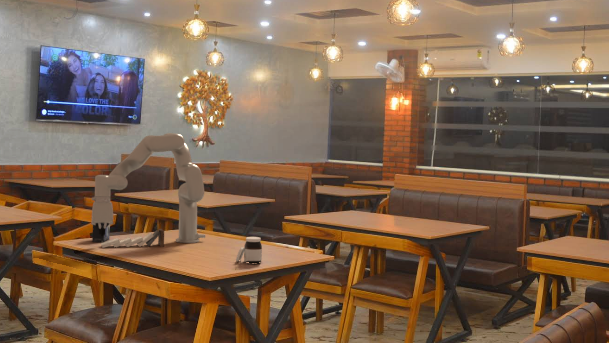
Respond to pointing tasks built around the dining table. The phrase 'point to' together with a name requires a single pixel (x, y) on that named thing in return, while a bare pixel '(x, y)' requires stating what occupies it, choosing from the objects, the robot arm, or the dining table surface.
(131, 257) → the dining table surface
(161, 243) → the block
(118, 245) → the domino
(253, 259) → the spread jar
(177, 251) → the dining table surface
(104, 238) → the small box
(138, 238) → the domino
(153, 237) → the end domino
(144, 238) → the domino
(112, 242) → the domino
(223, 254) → the dining table surface
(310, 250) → the dining table surface
